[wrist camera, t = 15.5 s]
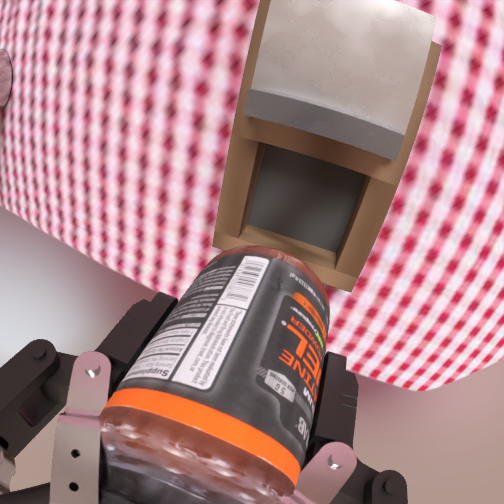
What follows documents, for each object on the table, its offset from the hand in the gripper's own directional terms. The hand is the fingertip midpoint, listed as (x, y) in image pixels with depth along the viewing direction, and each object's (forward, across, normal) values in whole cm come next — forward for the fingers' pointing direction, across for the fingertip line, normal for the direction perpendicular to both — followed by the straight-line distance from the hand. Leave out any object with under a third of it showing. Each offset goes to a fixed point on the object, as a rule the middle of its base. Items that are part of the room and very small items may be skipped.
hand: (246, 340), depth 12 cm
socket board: (+16, 0, -4) cm, 17 cm away
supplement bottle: (+3, 0, 0) cm, 3 cm away
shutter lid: (+13, 0, -11) cm, 17 cm away
